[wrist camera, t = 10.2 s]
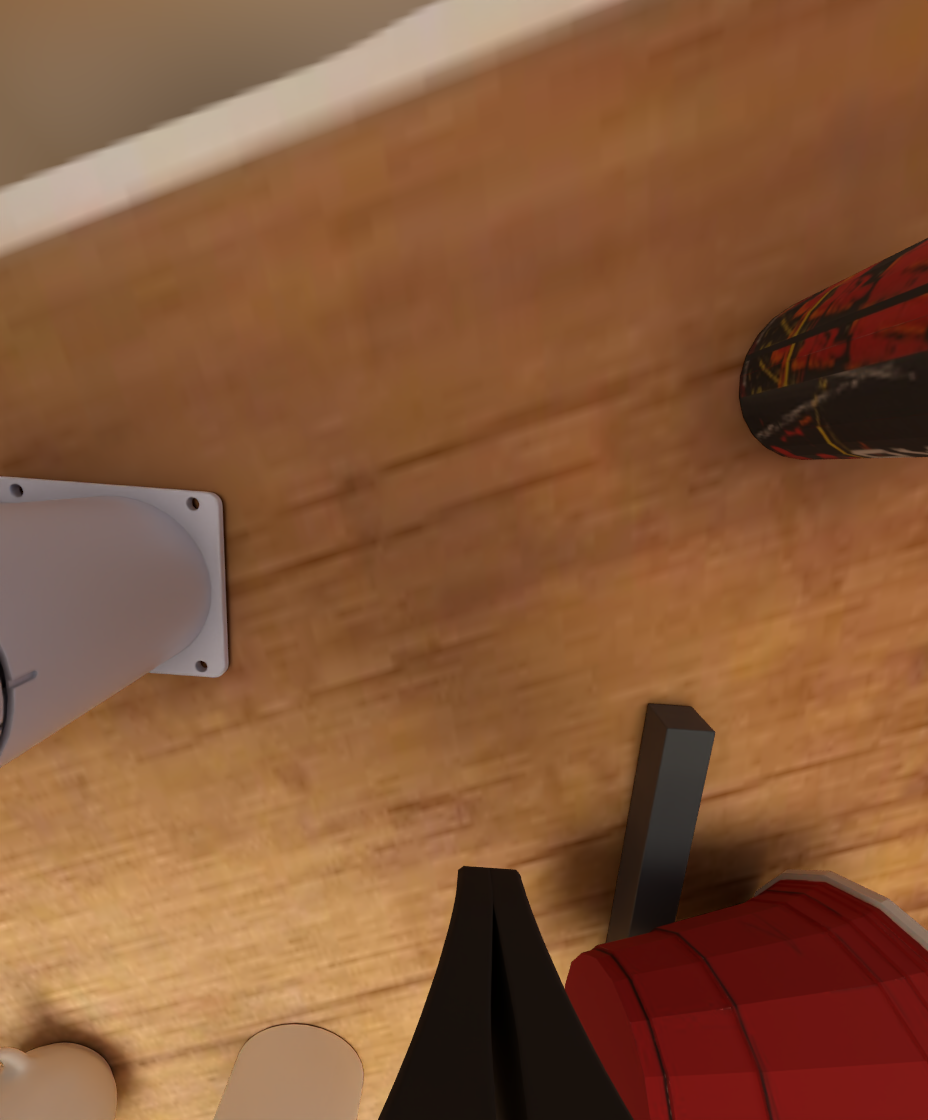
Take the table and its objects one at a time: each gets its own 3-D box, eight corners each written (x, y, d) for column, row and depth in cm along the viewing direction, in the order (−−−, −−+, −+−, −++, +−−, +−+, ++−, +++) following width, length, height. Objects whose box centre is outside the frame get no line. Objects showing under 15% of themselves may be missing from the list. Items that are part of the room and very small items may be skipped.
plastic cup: (518, 955, 22) (728, 951, 24) (608, 1439, 12) (950, 1357, 14) (587, 799, 18) (831, 812, 20) (808, 1337, 8) (1239, 1243, 10)
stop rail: (593, 1009, 24) (605, 1058, 22) (647, 702, 20) (667, 728, 18) (631, 1011, 24) (645, 1060, 22) (691, 706, 20) (716, 732, 18)
